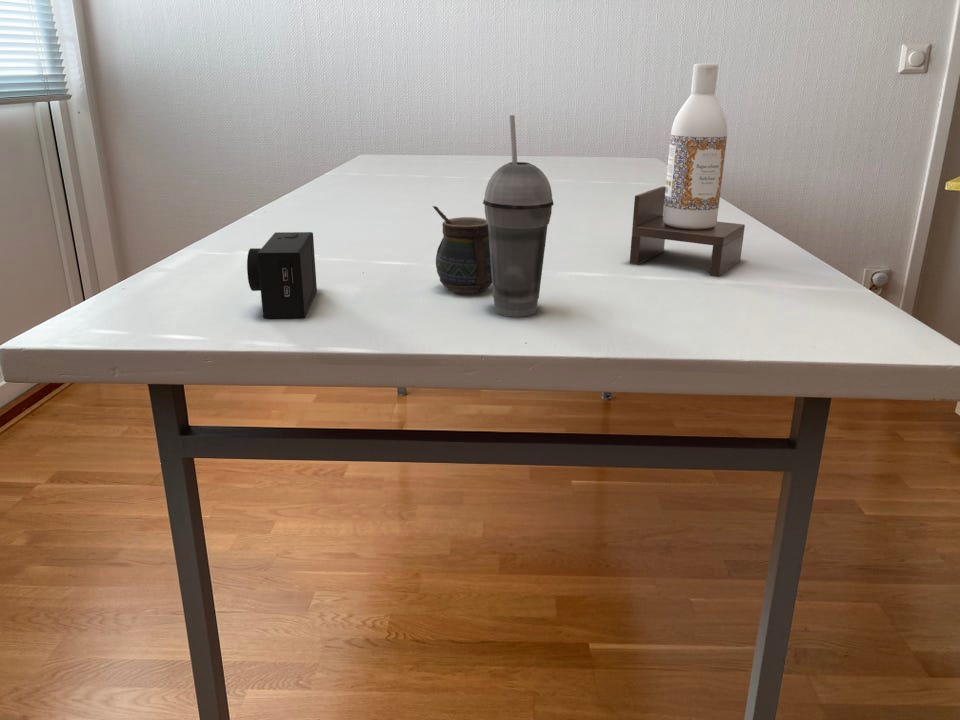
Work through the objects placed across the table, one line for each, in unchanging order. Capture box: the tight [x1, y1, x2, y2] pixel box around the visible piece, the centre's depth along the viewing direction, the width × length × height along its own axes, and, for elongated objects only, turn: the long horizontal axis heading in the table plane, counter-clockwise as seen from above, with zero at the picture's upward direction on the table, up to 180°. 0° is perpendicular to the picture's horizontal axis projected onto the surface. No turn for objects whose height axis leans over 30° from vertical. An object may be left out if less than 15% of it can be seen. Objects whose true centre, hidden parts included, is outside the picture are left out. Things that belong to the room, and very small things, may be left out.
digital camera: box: [246, 231, 318, 319], centre depth 84 cm, size 10×5×7 cm, turn 4°
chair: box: [629, 186, 746, 277], centre depth 103 cm, size 12×10×9 cm
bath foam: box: [663, 63, 728, 230], centre depth 99 cm, size 7×7×20 cm
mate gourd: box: [432, 205, 492, 294], centre depth 89 cm, size 7×8×10 cm
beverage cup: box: [482, 114, 555, 318], centre depth 80 cm, size 7×7×20 cm
